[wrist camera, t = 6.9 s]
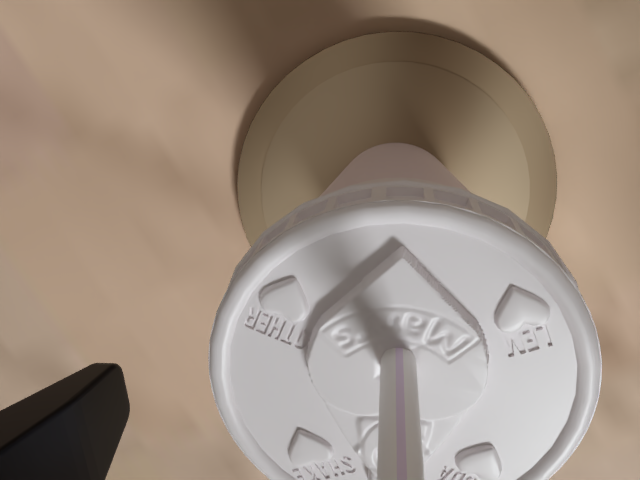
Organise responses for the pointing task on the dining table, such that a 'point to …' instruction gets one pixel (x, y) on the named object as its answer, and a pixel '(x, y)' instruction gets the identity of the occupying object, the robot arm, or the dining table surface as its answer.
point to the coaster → (396, 126)
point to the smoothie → (404, 335)
